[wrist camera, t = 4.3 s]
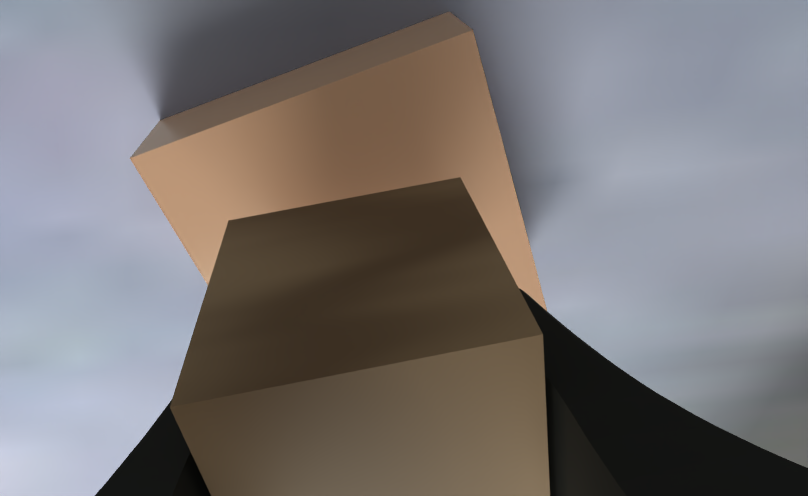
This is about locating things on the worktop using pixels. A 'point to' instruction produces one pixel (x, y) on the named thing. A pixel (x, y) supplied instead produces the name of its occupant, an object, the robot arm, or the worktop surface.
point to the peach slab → (341, 142)
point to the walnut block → (366, 355)
